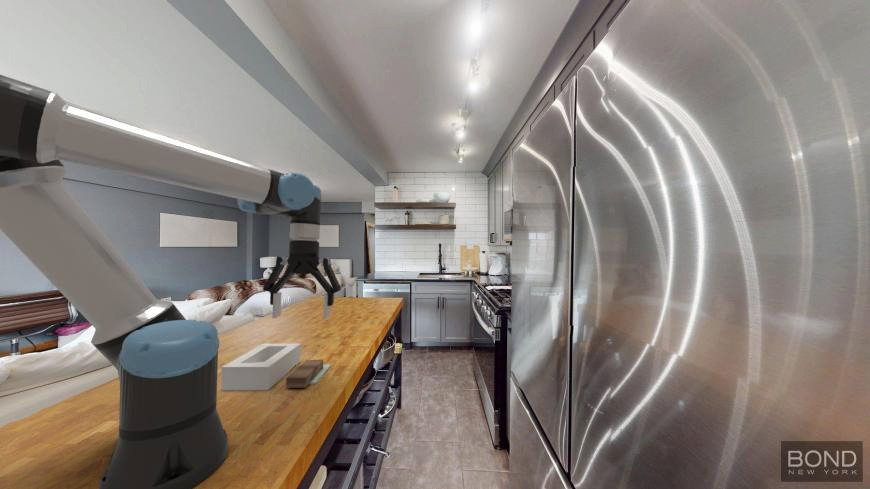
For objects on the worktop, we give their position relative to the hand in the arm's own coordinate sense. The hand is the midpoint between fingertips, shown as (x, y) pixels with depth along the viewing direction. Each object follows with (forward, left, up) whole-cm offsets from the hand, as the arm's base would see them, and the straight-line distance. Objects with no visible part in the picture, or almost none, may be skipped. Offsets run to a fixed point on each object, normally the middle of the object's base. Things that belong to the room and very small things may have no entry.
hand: (301, 317), depth 76 cm
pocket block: (+5, +13, -18) cm, 23 cm away
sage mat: (+5, 0, -18) cm, 19 cm away
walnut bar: (+3, 0, -17) cm, 18 cm away
